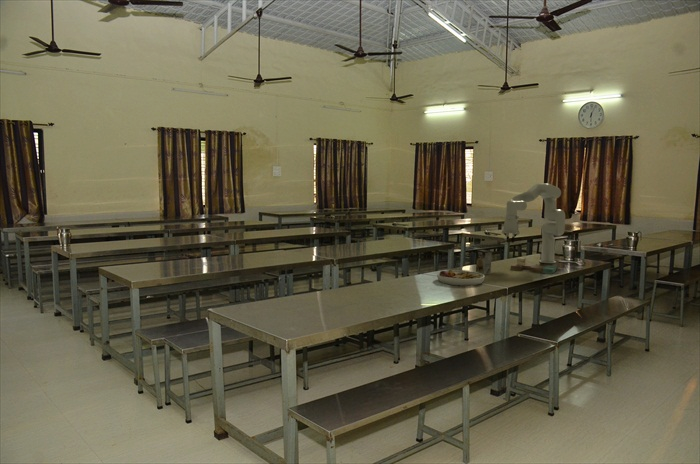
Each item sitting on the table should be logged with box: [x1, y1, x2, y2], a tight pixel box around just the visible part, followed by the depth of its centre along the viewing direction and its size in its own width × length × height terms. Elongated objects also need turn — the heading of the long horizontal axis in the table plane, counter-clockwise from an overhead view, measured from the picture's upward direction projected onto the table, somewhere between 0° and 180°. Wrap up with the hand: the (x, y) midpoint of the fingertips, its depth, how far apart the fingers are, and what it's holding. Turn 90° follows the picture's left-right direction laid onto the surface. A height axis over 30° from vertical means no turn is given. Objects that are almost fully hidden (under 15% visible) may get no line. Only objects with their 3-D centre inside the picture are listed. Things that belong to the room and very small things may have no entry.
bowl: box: [436, 269, 486, 287], centre depth 342 cm, size 30×30×8 cm
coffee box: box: [475, 249, 493, 275], centre depth 372 cm, size 9×6×16 cm
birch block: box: [516, 256, 526, 265], centre depth 392 cm, size 5×5×5 cm
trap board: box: [510, 261, 558, 275], centre depth 388 cm, size 17×29×3 cm, turn 60°
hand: (510, 242), depth 394 cm, fingers open, 2 cm apart
